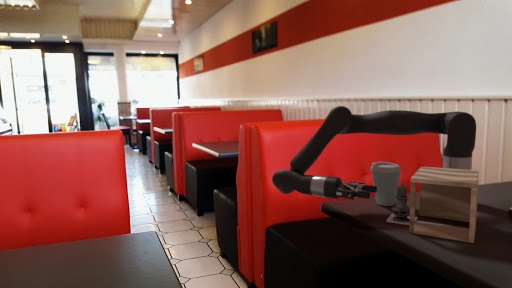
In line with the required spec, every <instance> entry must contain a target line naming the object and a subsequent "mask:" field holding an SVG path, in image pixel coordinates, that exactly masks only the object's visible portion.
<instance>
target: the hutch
mask: <svg viewBox="0 0 512 288" xmlns="http://www.w3.org/2000/svg"><path fill="white" fill-rule="evenodd" d="M479 173H480V171H479V170H474V169H472V170H463V169H448V168H443V167H432V166H421V167H419V168H418V169H417V171H416V172H414V174H413V175H412V176H411V177H410V197H409V208H410V214H409V216H410V225H409V230H408V231H409V232H408V233H410V234H414V235H422V236H430V237H434V238H442V239H447V240H454V241H461V242H465V243H466V242H467V243H472V244H474V243H475V236H476V230H477V229H476V227H477V226H476V225H477V214H478V212H477V211H478V196H479V194H478V193H479V176H480V175H479ZM417 183H419V186H420V187H419V216H422V217H429V218H434V219H435V218H437V219H444V220H445V219H446V220H451V221H452V220H453V221H457V222H458V221H459V222H464V223H465V222H466V223H469V227H464V226H457V225H450V224H443V223H437V222H429V221H422V220H421V221H420V220H415V217H416V196H417V195H416V193H417V192H416V191H417Z"/></svg>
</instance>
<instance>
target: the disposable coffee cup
mask: <svg viewBox="0 0 512 288" xmlns="http://www.w3.org/2000/svg"><path fill="white" fill-rule="evenodd" d="M370 171H371V176H372V183H373V184H372V185H373V186H377V192H376V193H374V196H375V197H374V198H375V201H376V204H377V205H379V206H382V205H383V207H391V206H392V207H393V206H395V205H396V203H397V198H396V196H397V187H398V186H399V183H400V177H401V173H402V172H401V171H402V168H401V167H400V166H399V164H396V163H394V162H388V161H375V162H372V163H371V166H370Z"/></svg>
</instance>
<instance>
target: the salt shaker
mask: <svg viewBox="0 0 512 288" xmlns="http://www.w3.org/2000/svg"><path fill="white" fill-rule="evenodd" d="M407 195H408V187H407V186H405V185H404V183H403V182H401V183H400V185H398V187H397V196H396V202H395V205H393V206H392V207H391V210H392V214H394V215H395V217H393V218H392V219H393V220H394V221H397V222H409V221H410V219H409V218H407V216H410V206H409V207H408V203H407V201H408V199H409V196H407Z"/></svg>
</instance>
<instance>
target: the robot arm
mask: <svg viewBox="0 0 512 288" xmlns="http://www.w3.org/2000/svg"><path fill="white" fill-rule="evenodd" d="M349 134H350V135H351V134H352V135H353V134H371V135H387V136H388V135H389V136H411V135H418V134H436V135H437V134H439V135H446V137H447V138H446V146H444V148H443V151H442V152H443V153H442V154H443V157H442V168H448V169H463V170H473V166H472V164H473V152H474V150H475V147H476V137H477V121H476V119H475V117H474V115H472V114H471V113H468V112H465V111H449V112H437V113H436V112H434V113H429V112H428V113H427V112H420V111H413V110H400V109H399V110H398V109H396V110H395V109H394V110H393V109H391V110H389V109H388V110H382V111H377V112H373V113H372V112H371V113H367V114H355V113H354V114H353V113H352V112H351V109H349V108H348V107H346V106H343V105H337V106H335V107H333V108H331V110H330V111H329V112H328V114H327V115H326V117H325V119H324V121H323V122H322V124H321V125H320V126H319V128H318V129H317V131H316V132H315V133H314V135H313V136H312V137H311V138H310V139H309V140H308V141H307V142H306V143H305V144H304V146H302V147H301V149H299V151H298V152H297V153H296V154H295V155H294V157H292V159H291V161H290V163H289V165H290V168H289V169H288V170H287V169H280V170H277V171H276V172H274V173H273V175H272V177H271V182H272V184H273V186H274V187H275V188H276V189H278V191H279V192H280V193H282V194H284V195H290V194H291V193H293V192H294V191H296V192H298V193H300V194H301V195H307V196H315V197H318V198H325V199H332V200H339V199H340V198H341V199H348V200H354V199H359V198H360V199H367V200H369V199H370V198H371V193H373V194H375V193H376V192H377V186H374V185H369V184H366V182H362V181H361V182H360V181H359V182H358V181H350V180H349V181H348V182H346V183H343V181H342V178H341V177H339V176H328V175H312V174H306V172H307V171H309V169H310V168H311V167H312V166H313V165H314V163H315V162H316V161H317V160H318V159H319V157H320V156H321V154H322V153H323V151H324V150H325V149H326V147H327V146H328V145H329V144H330V142H331V141H332V140H333V139H334V138H335V137H336V136H337V135H349Z"/></svg>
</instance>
